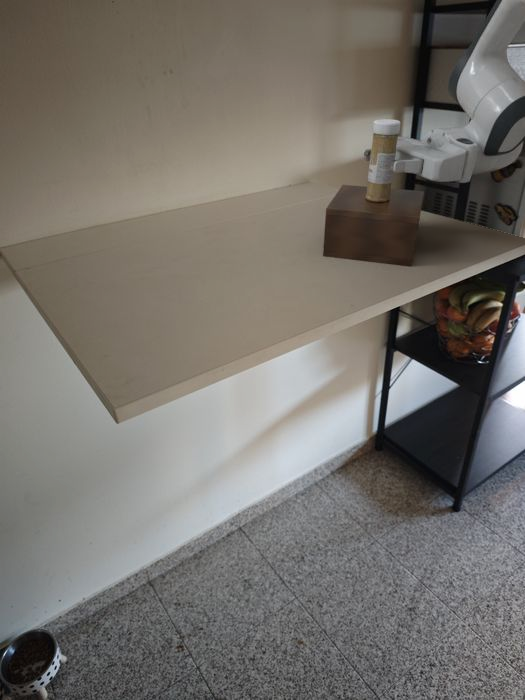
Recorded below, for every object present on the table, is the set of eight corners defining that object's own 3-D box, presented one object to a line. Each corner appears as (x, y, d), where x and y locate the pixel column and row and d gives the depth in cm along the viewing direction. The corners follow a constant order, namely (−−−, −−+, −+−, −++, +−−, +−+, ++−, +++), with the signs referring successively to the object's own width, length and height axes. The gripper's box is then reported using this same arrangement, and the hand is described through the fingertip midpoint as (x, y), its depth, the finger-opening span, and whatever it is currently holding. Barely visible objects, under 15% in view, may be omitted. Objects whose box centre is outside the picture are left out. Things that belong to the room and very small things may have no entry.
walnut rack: (416, 235, 102) (424, 191, 97) (410, 266, 89) (419, 217, 84) (339, 227, 106) (342, 184, 101) (322, 255, 93) (326, 208, 88)
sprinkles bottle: (364, 195, 94) (372, 118, 87) (388, 195, 94) (399, 118, 87) (366, 202, 91) (374, 122, 83) (391, 203, 90) (402, 122, 83)
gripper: (410, 126, 99) (349, 131, 95) (484, 146, 83) (415, 153, 79) (405, 159, 102) (346, 166, 98) (475, 184, 86) (409, 193, 82)
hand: (377, 160), depth 88 cm, fingers open, 8 cm apart
